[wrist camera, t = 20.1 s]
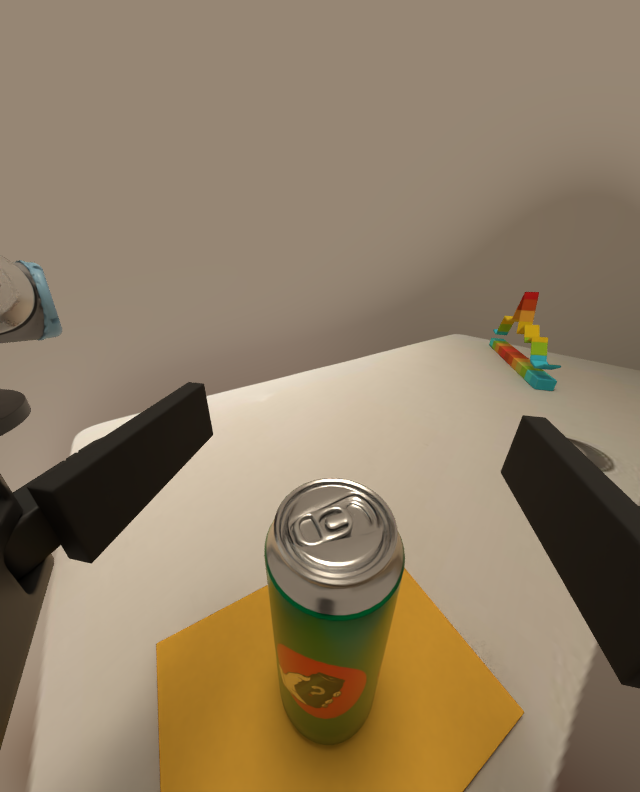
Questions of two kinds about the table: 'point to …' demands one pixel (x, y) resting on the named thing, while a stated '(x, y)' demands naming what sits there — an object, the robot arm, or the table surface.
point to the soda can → (331, 603)
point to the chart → (512, 356)
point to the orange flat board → (302, 758)
